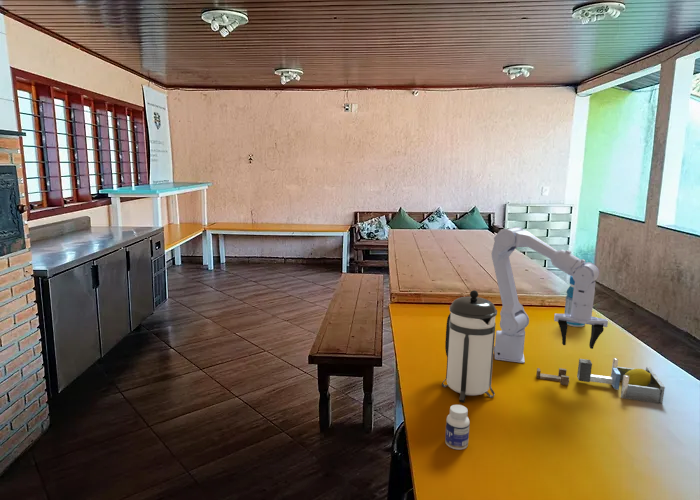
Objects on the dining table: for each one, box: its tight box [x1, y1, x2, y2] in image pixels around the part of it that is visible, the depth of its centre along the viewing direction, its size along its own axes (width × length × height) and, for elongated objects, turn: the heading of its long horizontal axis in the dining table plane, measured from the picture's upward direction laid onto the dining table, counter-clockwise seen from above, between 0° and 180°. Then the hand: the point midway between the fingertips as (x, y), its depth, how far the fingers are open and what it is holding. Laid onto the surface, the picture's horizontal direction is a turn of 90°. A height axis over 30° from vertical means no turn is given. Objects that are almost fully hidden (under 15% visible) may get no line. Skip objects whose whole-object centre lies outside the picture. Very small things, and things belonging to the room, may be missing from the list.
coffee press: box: [441, 289, 498, 403], centre depth 134 cm, size 17×16×30 cm
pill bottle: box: [444, 404, 470, 450], centre depth 110 cm, size 5×5×9 cm
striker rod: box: [576, 358, 621, 390], centre depth 141 cm, size 11×4×7 cm, turn 73°
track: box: [536, 367, 570, 386], centre depth 145 cm, size 9×6×2 cm
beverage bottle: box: [564, 275, 586, 328], centre depth 194 cm, size 8×8×20 cm
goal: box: [610, 357, 666, 404], centre depth 138 cm, size 10×14×6 cm
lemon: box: [621, 368, 651, 387], centre depth 138 cm, size 6×6×8 cm
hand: (577, 345), depth 145 cm, fingers open, 7 cm apart
